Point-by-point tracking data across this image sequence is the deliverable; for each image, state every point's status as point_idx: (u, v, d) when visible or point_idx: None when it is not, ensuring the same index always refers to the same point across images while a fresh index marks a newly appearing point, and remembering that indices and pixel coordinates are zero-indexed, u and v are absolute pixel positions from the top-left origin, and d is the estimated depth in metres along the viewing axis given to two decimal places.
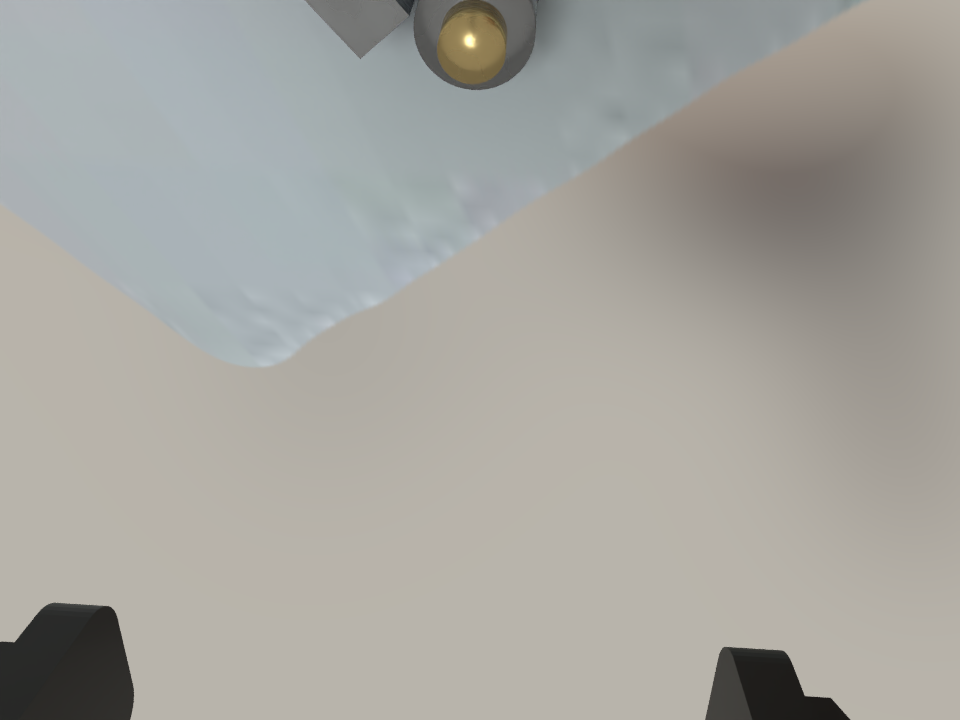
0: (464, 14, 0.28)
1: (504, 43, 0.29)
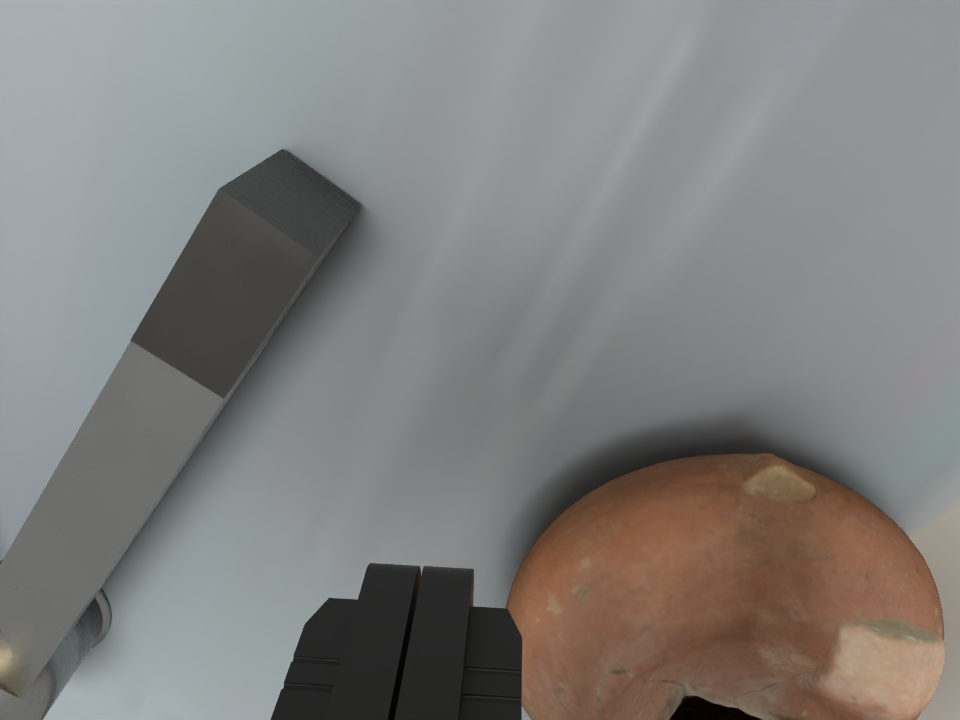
0: None
1: None
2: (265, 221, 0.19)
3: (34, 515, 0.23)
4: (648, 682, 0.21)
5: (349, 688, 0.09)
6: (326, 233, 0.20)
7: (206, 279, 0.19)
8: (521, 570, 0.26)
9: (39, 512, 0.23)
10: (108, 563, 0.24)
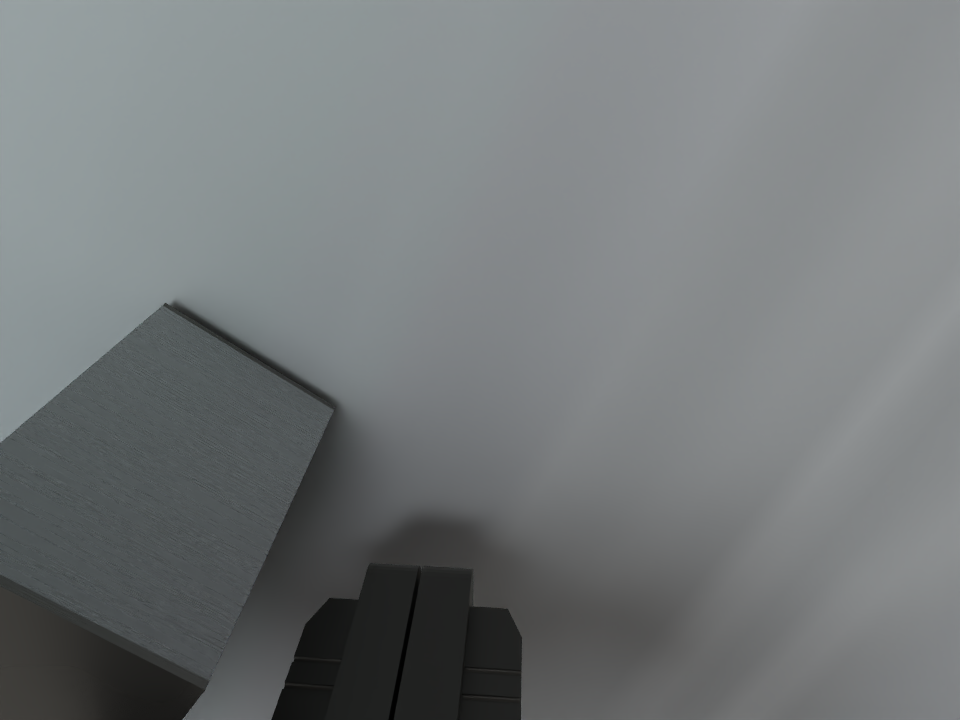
0: None
1: None
2: (48, 602, 0.07)
3: None
4: None
5: (349, 688, 0.09)
6: (242, 558, 0.08)
7: None
8: None
9: None
10: None
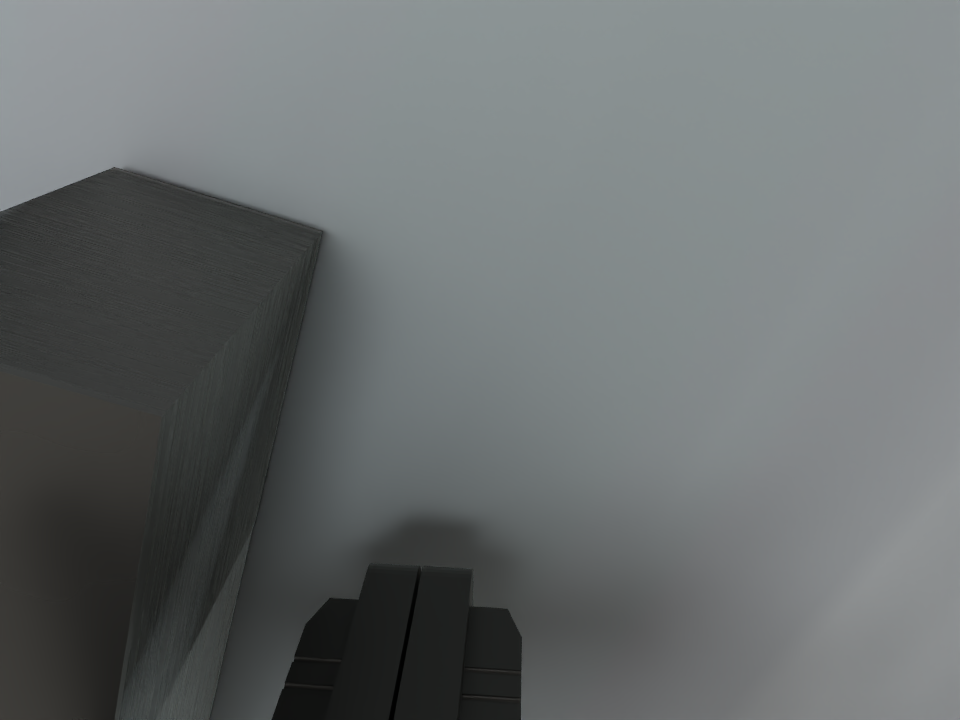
0: None
1: None
2: None
3: None
4: None
5: (350, 688, 0.09)
6: (210, 326, 0.07)
7: None
8: None
9: None
10: None
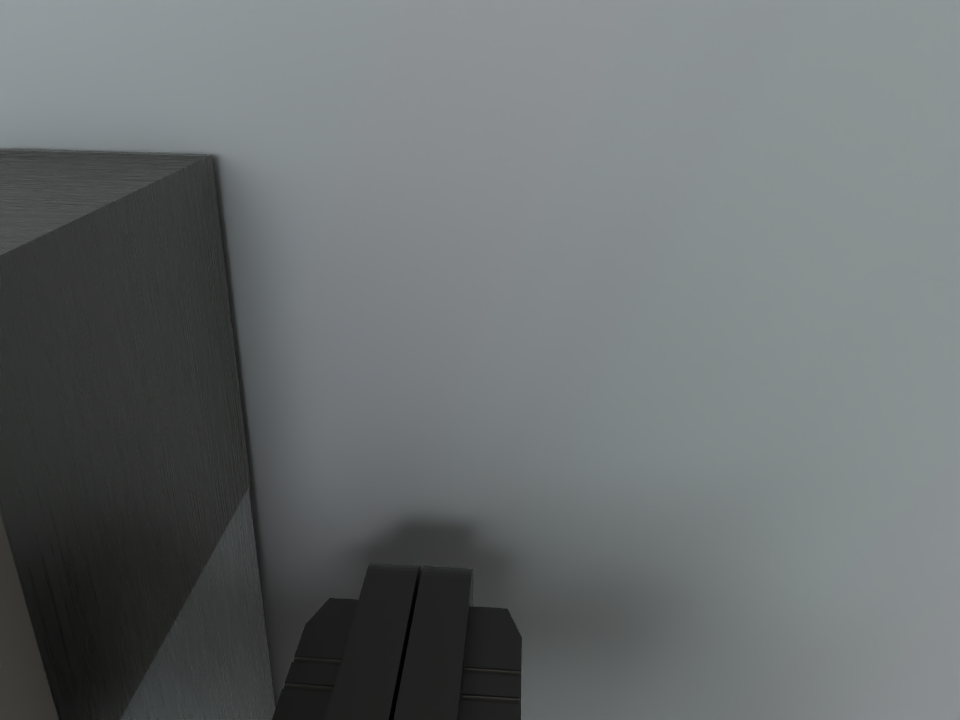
0: None
1: None
2: None
3: None
4: None
5: (350, 688, 0.09)
6: (36, 225, 0.07)
7: None
8: None
9: None
10: None
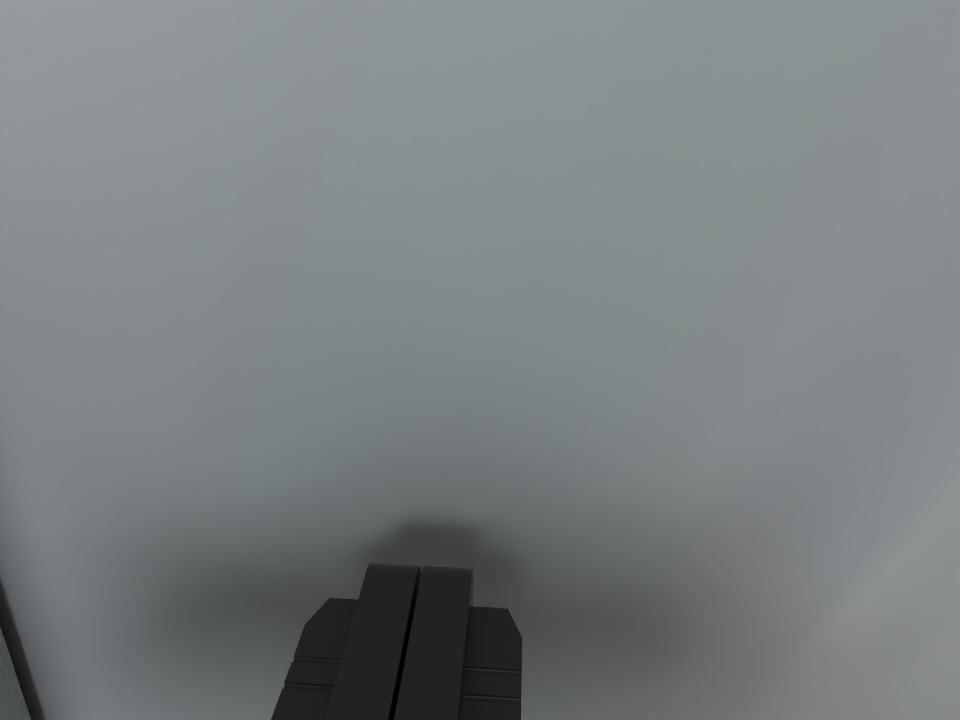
0: None
1: None
2: None
3: None
4: None
5: (349, 688, 0.09)
6: None
7: None
8: None
9: None
10: None
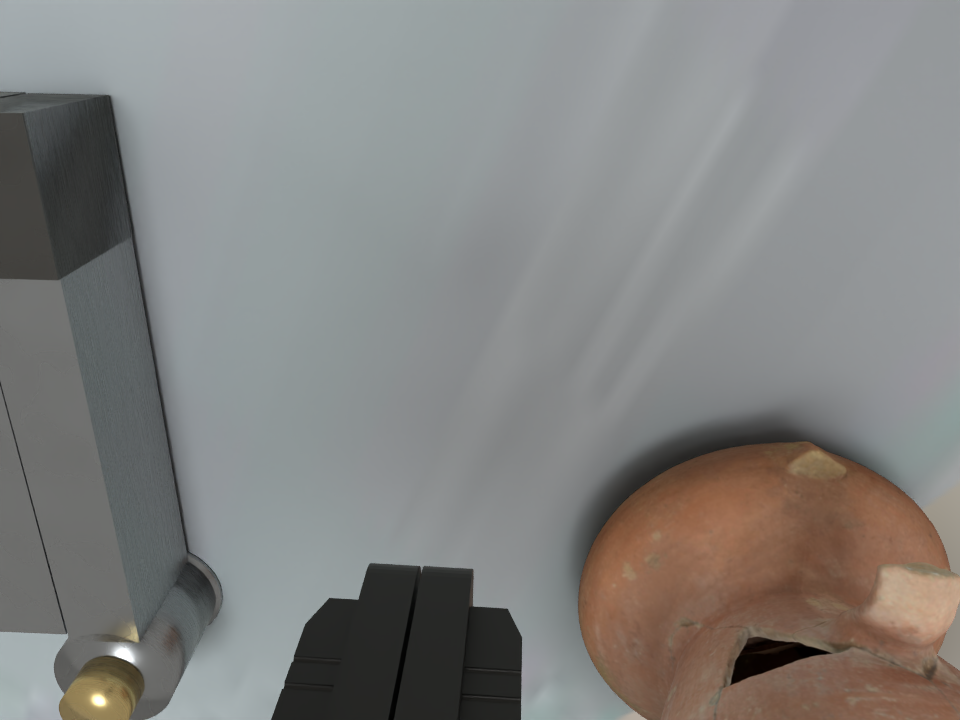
0: (106, 686, 0.29)
1: None
2: None
3: (28, 472, 0.27)
4: (716, 629, 0.26)
5: (350, 688, 0.09)
6: (44, 106, 0.23)
7: None
8: (596, 545, 0.30)
9: (28, 467, 0.27)
10: (100, 480, 0.27)
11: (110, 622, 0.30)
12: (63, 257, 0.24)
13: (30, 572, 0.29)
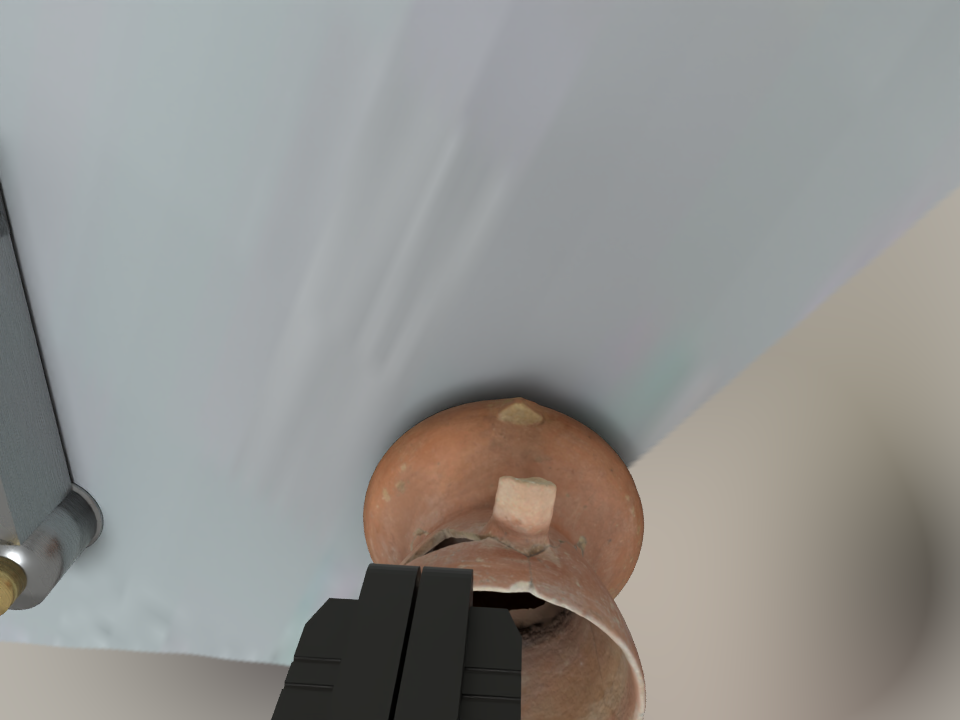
0: None
1: (8, 606, 0.39)
2: None
3: None
4: None
5: (350, 688, 0.09)
6: None
7: None
8: (371, 477, 0.39)
9: None
10: None
11: None
12: None
13: None
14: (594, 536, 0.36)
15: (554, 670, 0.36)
